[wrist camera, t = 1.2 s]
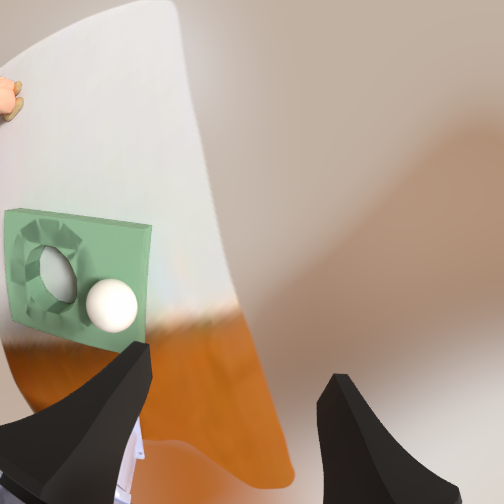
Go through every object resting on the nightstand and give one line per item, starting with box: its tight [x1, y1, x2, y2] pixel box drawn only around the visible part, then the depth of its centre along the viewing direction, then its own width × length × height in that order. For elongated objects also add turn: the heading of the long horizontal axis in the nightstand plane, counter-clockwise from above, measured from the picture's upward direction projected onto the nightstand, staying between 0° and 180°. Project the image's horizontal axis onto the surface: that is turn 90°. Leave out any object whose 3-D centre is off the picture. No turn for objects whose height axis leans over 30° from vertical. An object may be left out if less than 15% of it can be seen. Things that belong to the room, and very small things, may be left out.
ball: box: [86, 278, 138, 333], centre depth 16 cm, size 4×4×4 cm
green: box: [4, 208, 152, 353], centre depth 18 cm, size 10×14×2 cm
